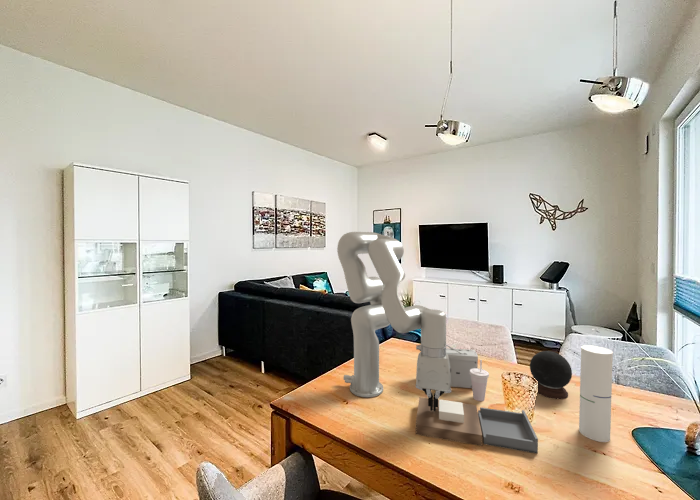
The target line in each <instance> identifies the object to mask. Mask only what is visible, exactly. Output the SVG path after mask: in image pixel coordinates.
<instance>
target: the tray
mask: <svg viewBox="0 0 700 500" xmlns="http://www.w3.org/2000/svg"><path fill="white" fill-rule="evenodd" d="M477 412H478V417H479V421H480V426H481V431H482V444H483V445H484V446H490V447H491V446H492V447H498V448H503V449H509V450H515V451H520V452H526V453H531V454H536V455H537V454H538V453H539V451H538V450H539V449H538V448H539V438H538V436H537V434H536V432H535V430H534V428H533V426H532V424H531V422H530V421H531V420H530V419H529V418H528V416H527V414H526V411H525V410H524V409H522V410H521V412H516V411H508V410H501V409H495V408H487V407H479V409H477Z"/></svg>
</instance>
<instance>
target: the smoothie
mask: <svg viewBox="0 0 700 500" xmlns="http://www.w3.org/2000/svg"><path fill="white" fill-rule="evenodd" d="M479 362H480V363H479V368H473V369H471V370H470V375H471V382H472V388H471V389H472V398H473V399H474V400H475V401H478V402H484V401H485V398H486V393H487V385H488V379H489V377H490V374H489V372H488V371H487V370H485V369H484V368H483V366H482V365H483V361H482V359H479Z"/></svg>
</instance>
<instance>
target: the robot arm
mask: <svg viewBox="0 0 700 500" xmlns="http://www.w3.org/2000/svg"><path fill="white" fill-rule="evenodd" d="M336 247H337V248H336V249H337V250H336V251H337V256H338V259H339V263H340V264H341V267H342V269H343V274H344V279H345V282H346V288H347V290H348V291H347V292H348V294H349V298H350V301H351V302H353V303H355V304H362V303H368V302H369V303H370V304H369V305H365V306H360V307H358V308H356V309H355V310H354V311H353V312H352V314H351V318H350V322H351V329H352V333H353V334H352V335H353V374H352V375H349V374H344V375H343V380H344V384H345V383H346V384H350V385H349V391H350V392H351V393H352V395H353V394H354V395H355V396H358V397H362V398H374V397H377V396H379V395H381V394H382V393H383V391H384V386H383V384H382V383H381V382H380V340H379V337H378V336H377V334H376V331H377V330H380V329H383V328H386V327H388V326H391V327H392V329H393V330H394V331H396V332H397V333H399V334H407V333H411V332H412V331H416V330H420V344H419V345H417V344H416V346H415V349H416V350H417V351H419V353H418V355H417V360H416V370H415V371H416V374H415V377H416V378H415V379H416V383H415V389H418V390H420V391H422V392H424V394H425V395H426V396H427V397H426V398H428V406H430V411H432V410H433V411H436V407H438V400H439V399H440V397H441V396H442V395H444V394H450V393H452V387H451V375H450V362H449V357H448V355H447V354H446V348H447V346H446V345H447V315H446V313H445V312H444V311H443V310H440V309H433V308H432V309H430V308H428V307H426V306H423V305H420V304H415V305H411V306H410V305H409V306H406V307H403V304H402V302H401V299H400V296H399V286H400V284H401V283H402V282H403V280H404V279H405V277H406V273H405V271H404V268H403V267H402V265H401V263H400V262H399V261H400V260H401V259H402V258H403V256H404V246H403V244H402V243H401V242H400V241H399V240H398V239H396V238H394V237H390V236H387V235H384V234H382V233H378V232H373V231H372V232H371V231H370V232H369V231H350V232H346V233H344V234H343V235H342V236H341V237H340V238H339V240H338V242H337V246H336ZM361 254H362V255H363V254H367V255H368V256H369V258H370V261H371V263H372V265H373V266H374V268H375V271H376V273H377V275H378V276H369V275H368V273H367V270H366V266H365V264H364V262H363V260H362V259H361V258H360V257H359V256H358V255H361ZM432 391H435V392H434V393H433V392H432Z"/></svg>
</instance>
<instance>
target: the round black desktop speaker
mask: <svg viewBox="0 0 700 500" xmlns="http://www.w3.org/2000/svg"><path fill="white" fill-rule="evenodd" d="M529 371H530V374H531V375H532V377H533V379H534V378H535V379H536V380H537V381H538V393H537V395H540V396H543V397H545V398H548V399H551V400H552V399H553V400H566V399H567V398H568V397H569V392H568V391H567V389H566V388H565V387H566V386H567V385H568V384H569V383H570V382H571V380H572V377H573V370H572V366H571V365H570V363H569V361H568V360H567V359H566V358H565V357H564V356H562V354H559V353H557V352H555V351H551V350H542V351H539V352H537V353H535V354H534V355H533V356H532V357H531V359H530V361H529ZM535 379H534V380H535ZM536 380H535V381H536ZM537 381H536V382H537Z"/></svg>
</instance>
